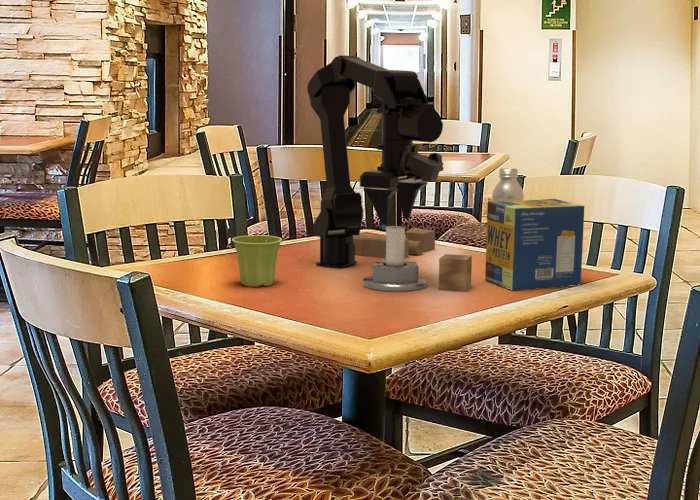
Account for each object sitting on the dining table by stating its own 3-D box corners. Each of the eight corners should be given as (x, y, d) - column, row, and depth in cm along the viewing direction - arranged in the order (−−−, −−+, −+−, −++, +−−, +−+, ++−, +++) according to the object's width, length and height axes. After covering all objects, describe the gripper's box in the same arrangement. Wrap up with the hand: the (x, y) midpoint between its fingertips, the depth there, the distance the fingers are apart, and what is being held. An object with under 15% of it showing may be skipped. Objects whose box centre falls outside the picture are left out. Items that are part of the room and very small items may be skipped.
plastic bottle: (486, 260, 214) (489, 167, 211) (517, 260, 215) (520, 167, 212) (493, 265, 208) (496, 170, 205) (525, 265, 209) (528, 170, 205)
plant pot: (290, 281, 191) (289, 236, 190) (270, 290, 182) (269, 243, 181) (245, 277, 194) (245, 234, 193) (224, 287, 185) (223, 241, 184)
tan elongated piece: (381, 280, 187) (381, 227, 185) (389, 277, 190) (390, 225, 188) (399, 282, 185) (400, 229, 183) (408, 279, 188) (408, 227, 186)
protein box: (483, 281, 192) (486, 201, 190) (552, 276, 198) (555, 198, 195) (511, 291, 183) (514, 207, 180) (582, 285, 188) (586, 204, 186)
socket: (364, 291, 182) (364, 270, 181) (361, 278, 193) (362, 258, 193) (429, 291, 182) (430, 270, 181) (423, 278, 194) (423, 258, 193)
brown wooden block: (438, 290, 183) (439, 258, 182) (445, 285, 188) (445, 254, 187) (465, 292, 182) (466, 260, 181) (471, 287, 187) (471, 255, 186)
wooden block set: (402, 236, 213) (332, 230, 223) (402, 262, 214) (332, 255, 224) (439, 227, 227) (372, 221, 237) (439, 251, 228) (372, 244, 238)
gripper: (414, 143, 174) (412, 232, 176) (457, 138, 190) (454, 219, 192) (358, 141, 179) (357, 226, 182) (404, 136, 195) (403, 214, 198)
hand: (395, 221), depth 188 cm, fingers open, 9 cm apart
